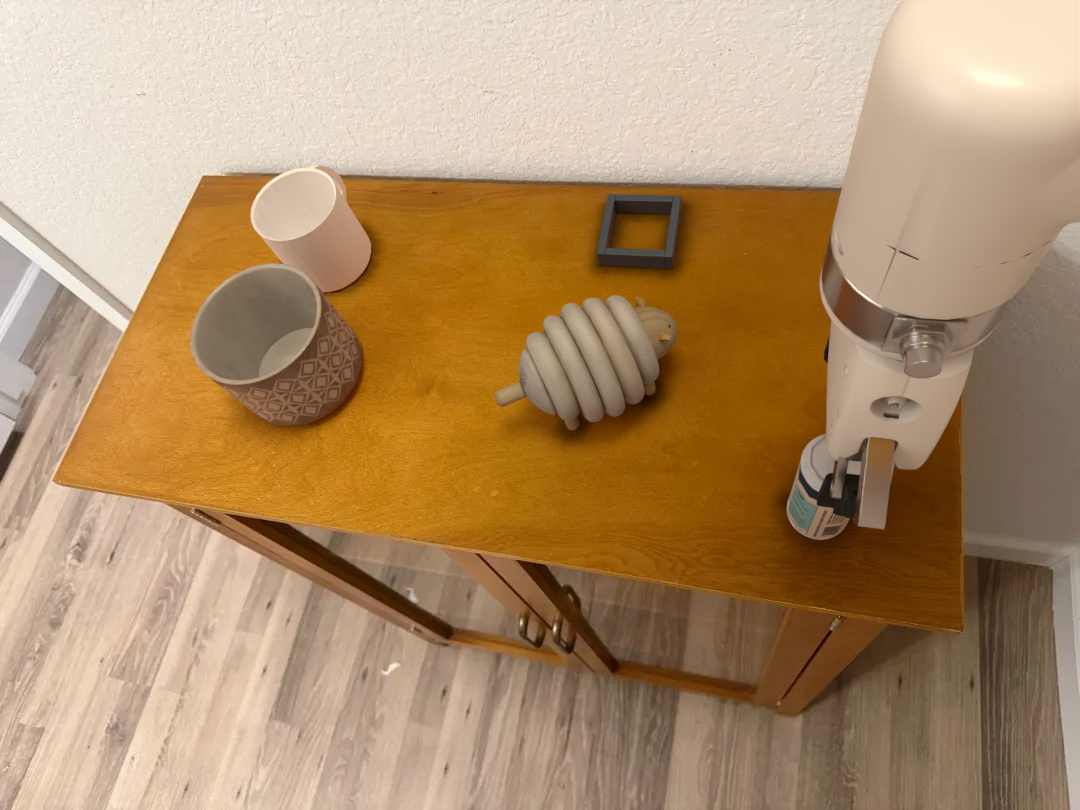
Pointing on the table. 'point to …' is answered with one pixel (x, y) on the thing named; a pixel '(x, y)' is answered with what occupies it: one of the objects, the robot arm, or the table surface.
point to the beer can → (815, 493)
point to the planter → (276, 344)
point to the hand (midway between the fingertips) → (847, 429)
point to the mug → (312, 226)
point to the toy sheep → (593, 359)
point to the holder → (639, 256)
